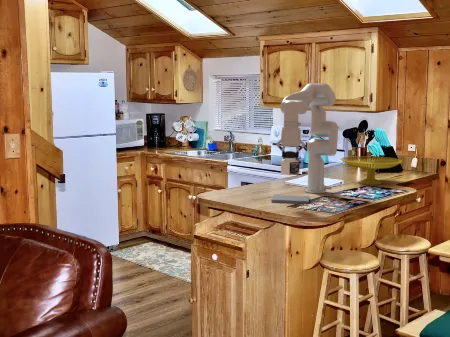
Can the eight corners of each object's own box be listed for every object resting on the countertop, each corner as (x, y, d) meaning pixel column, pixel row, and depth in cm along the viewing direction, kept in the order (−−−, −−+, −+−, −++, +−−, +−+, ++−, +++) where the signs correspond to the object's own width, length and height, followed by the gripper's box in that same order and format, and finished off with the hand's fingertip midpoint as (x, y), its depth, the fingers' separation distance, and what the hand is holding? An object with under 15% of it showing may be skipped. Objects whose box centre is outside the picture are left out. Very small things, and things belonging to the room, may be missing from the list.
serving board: (309, 198, 335) (309, 196, 335) (308, 203, 321) (308, 201, 321) (273, 197, 338) (273, 194, 338) (271, 202, 325) (271, 199, 325)
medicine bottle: (289, 175, 310) (290, 152, 308) (280, 173, 316) (280, 151, 314) (299, 174, 314) (300, 151, 312) (290, 172, 320) (290, 150, 318)
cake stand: (396, 190, 364) (397, 165, 362) (332, 184, 382) (332, 161, 379) (407, 180, 400) (408, 158, 398) (347, 175, 418) (348, 154, 415)
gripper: (307, 124, 313) (307, 158, 316) (275, 123, 316) (274, 157, 319) (307, 125, 306) (306, 160, 309) (273, 125, 309) (273, 159, 311)
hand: (290, 158), depth 314 cm, fingers closed on medicine bottle, 6 cm apart
